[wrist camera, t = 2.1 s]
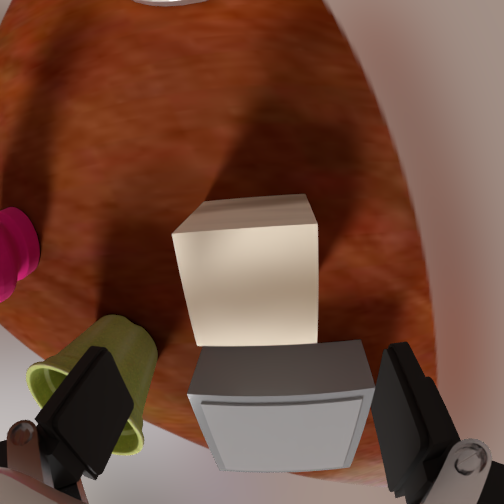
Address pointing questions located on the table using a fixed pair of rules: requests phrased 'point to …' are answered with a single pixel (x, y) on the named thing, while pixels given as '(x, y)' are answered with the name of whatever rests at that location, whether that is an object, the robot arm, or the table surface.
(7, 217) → the pepper mill
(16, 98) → the table surface
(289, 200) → the birch block
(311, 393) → the slate stand
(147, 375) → the plant pot
